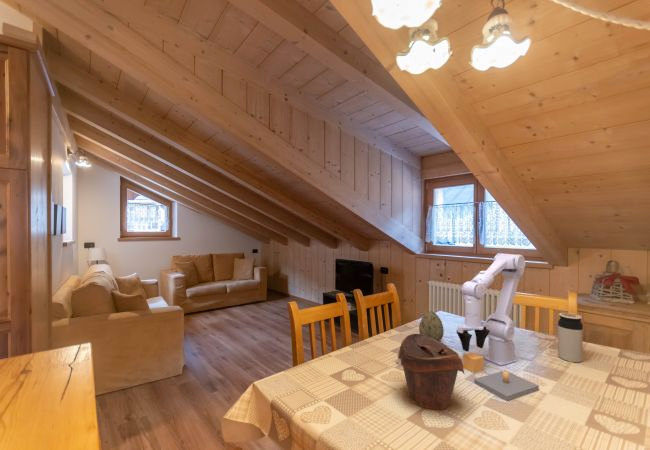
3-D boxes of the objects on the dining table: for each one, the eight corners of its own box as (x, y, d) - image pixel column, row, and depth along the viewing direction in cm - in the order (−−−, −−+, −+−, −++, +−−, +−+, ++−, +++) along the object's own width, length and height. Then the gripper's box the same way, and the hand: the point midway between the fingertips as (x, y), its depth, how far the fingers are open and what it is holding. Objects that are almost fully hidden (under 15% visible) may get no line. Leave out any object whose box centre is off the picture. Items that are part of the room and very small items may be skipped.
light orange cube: (471, 365, 122) (471, 352, 122) (483, 370, 118) (483, 357, 118) (462, 367, 120) (462, 354, 120) (473, 372, 116) (473, 359, 116)
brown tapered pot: (459, 424, 85) (459, 358, 85) (389, 402, 96) (390, 344, 96) (468, 395, 100) (468, 339, 101) (407, 379, 111) (407, 329, 111)
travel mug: (561, 360, 127) (561, 316, 127) (555, 353, 134) (555, 311, 134) (585, 364, 124) (586, 319, 124) (578, 356, 131) (578, 313, 131)
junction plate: (504, 374, 115) (504, 360, 115) (538, 390, 104) (538, 375, 104) (474, 383, 108) (474, 368, 108) (507, 401, 97) (507, 385, 97)
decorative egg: (416, 345, 142) (416, 312, 142) (422, 338, 152) (422, 307, 152) (440, 350, 137) (441, 316, 137) (445, 342, 146) (445, 310, 146)
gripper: (468, 318, 112) (468, 356, 112) (495, 314, 118) (495, 349, 118) (452, 313, 119) (452, 349, 119) (479, 309, 125) (479, 343, 125)
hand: (472, 349), depth 119 cm, fingers open, 7 cm apart
